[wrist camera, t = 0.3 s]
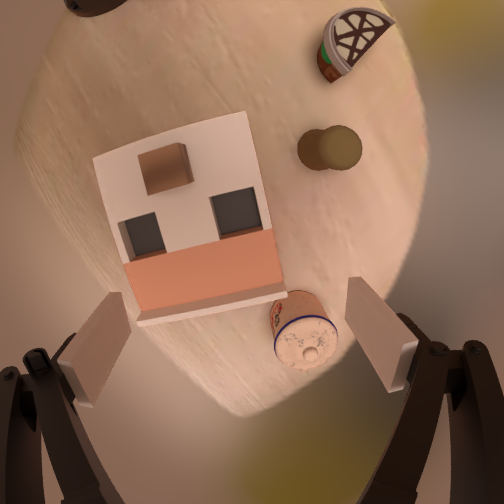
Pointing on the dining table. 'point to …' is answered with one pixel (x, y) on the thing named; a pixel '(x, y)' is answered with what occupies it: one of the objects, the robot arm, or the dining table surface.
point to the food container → (349, 39)
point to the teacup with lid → (302, 331)
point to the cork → (330, 148)
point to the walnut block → (165, 168)
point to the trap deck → (194, 224)
